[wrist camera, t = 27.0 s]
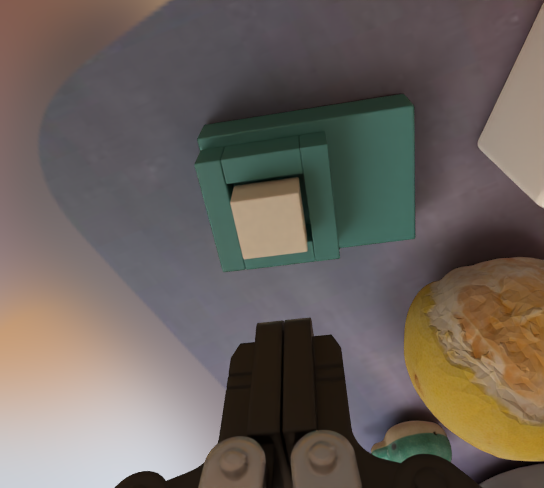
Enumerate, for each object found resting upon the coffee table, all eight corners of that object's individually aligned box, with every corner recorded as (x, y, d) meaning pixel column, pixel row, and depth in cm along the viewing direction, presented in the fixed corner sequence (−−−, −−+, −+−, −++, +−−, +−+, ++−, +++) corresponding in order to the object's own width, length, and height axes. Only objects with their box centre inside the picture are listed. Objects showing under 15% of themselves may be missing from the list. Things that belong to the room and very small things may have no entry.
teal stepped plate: (203, 124, 24) (189, 151, 20) (404, 92, 22) (425, 116, 19) (232, 241, 27) (224, 282, 24) (406, 219, 26) (424, 258, 23)
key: (233, 185, 21) (229, 201, 20) (298, 176, 21) (299, 192, 20) (246, 240, 23) (243, 260, 21) (306, 232, 23) (307, 252, 21)
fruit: (565, 337, 30) (675, 485, 22) (397, 363, 32) (438, 510, 23) (578, 198, 25) (729, 321, 17) (378, 238, 27) (421, 367, 18)
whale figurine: (459, 418, 34) (482, 471, 32) (400, 460, 39) (416, 510, 36) (397, 409, 32) (415, 465, 30) (342, 455, 37) (354, 507, 34)
